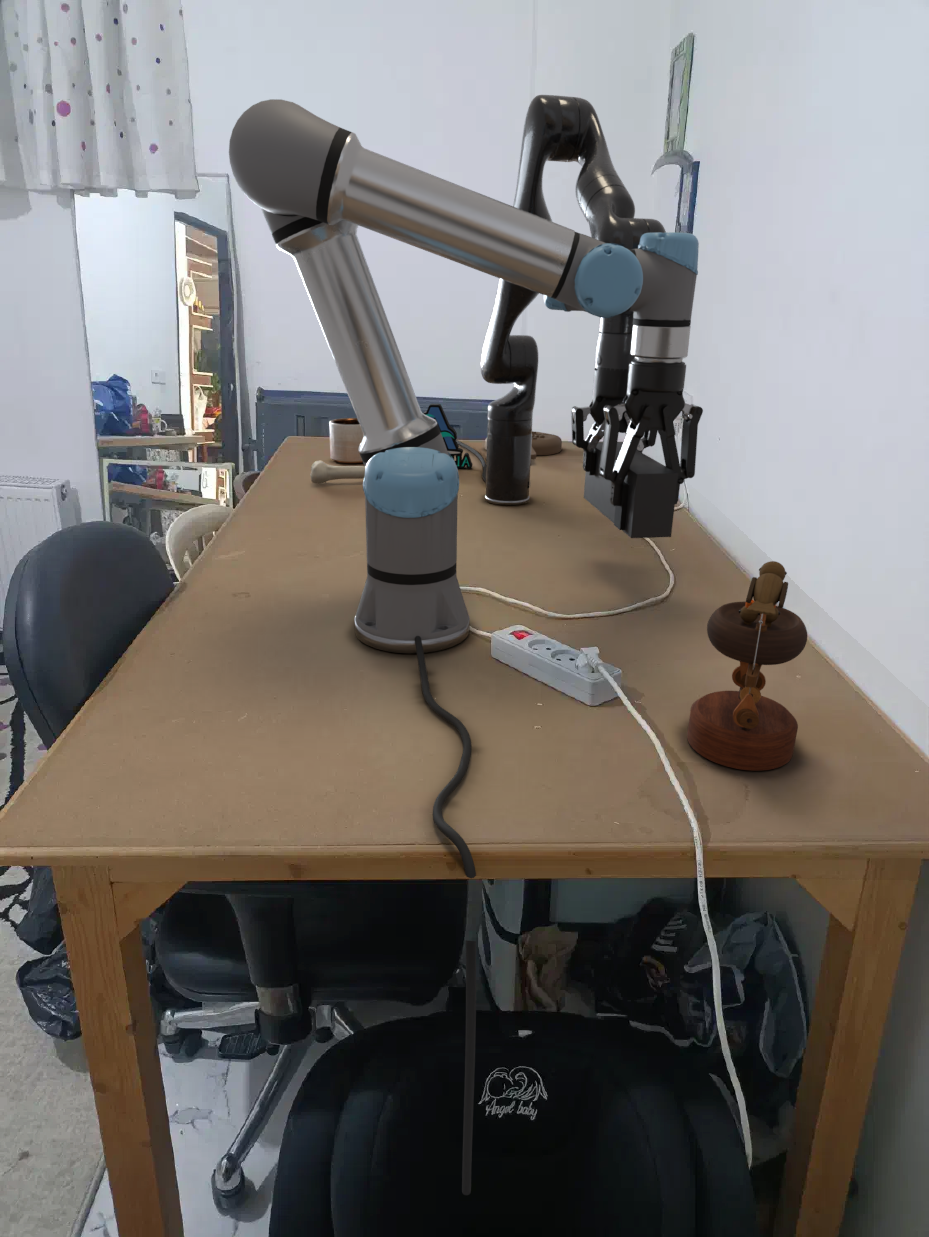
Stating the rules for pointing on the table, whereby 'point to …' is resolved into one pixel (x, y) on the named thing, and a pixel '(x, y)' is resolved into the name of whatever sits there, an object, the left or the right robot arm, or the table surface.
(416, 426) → the left robot arm
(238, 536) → the table surface
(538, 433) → the ice cream bar
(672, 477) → the box
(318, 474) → the dog toy
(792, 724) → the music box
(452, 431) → the decorative sign
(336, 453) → the planter
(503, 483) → the right robot arm
